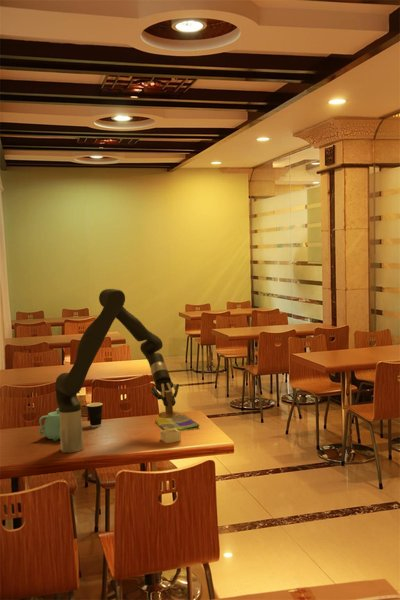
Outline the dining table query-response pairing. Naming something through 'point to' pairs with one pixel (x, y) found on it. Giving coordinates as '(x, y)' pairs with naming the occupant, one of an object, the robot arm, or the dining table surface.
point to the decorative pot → (51, 425)
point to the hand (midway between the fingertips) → (170, 405)
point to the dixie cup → (95, 414)
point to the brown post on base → (169, 407)
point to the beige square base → (170, 435)
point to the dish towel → (177, 423)
